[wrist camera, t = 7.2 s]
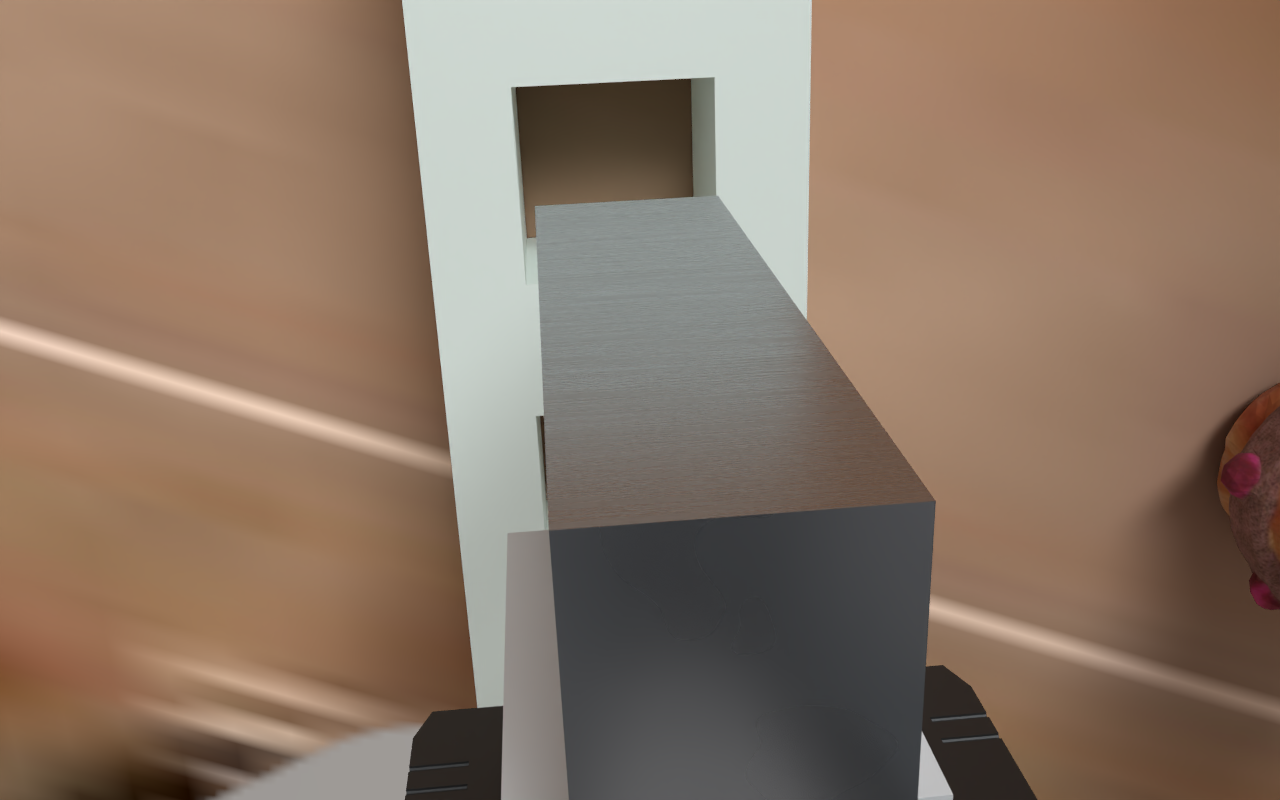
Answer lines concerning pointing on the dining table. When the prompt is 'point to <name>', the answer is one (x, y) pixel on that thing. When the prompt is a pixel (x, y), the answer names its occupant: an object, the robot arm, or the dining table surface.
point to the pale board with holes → (507, 260)
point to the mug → (1255, 493)
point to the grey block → (720, 525)
